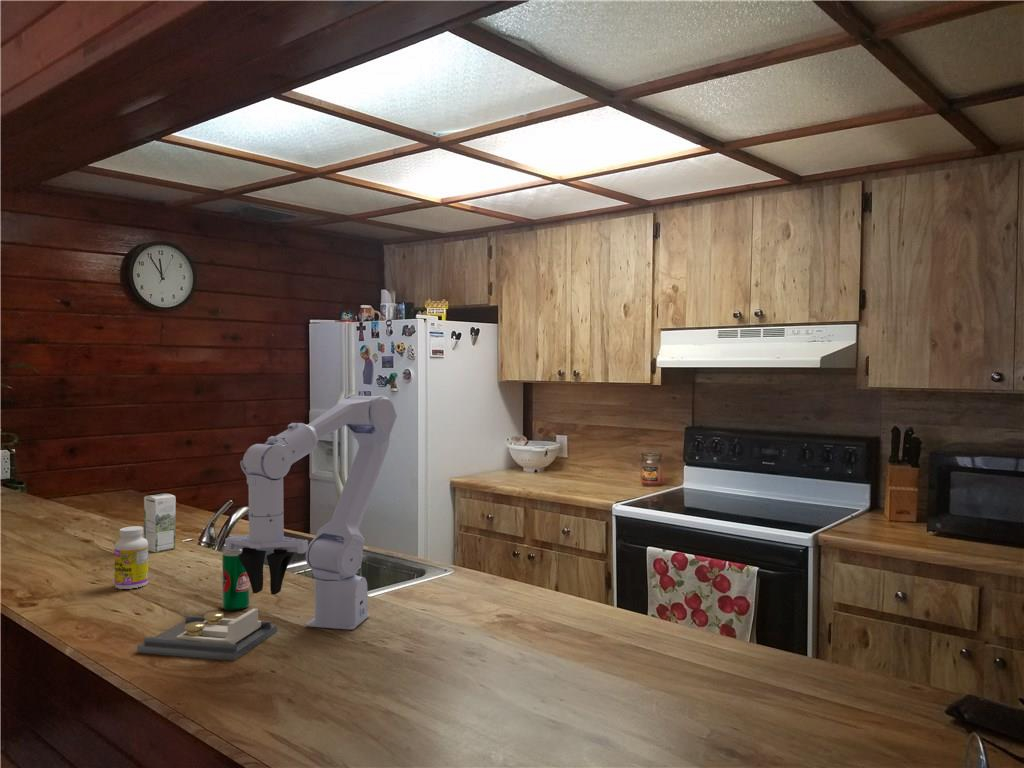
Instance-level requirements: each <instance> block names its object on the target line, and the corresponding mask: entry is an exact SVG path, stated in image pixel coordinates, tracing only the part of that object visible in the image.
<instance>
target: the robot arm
mask: <svg viewBox="0 0 1024 768" xmlns="http://www.w3.org/2000/svg"><path fill="white" fill-rule="evenodd" d="M396 420H397V412H396V408H395V406H394V404H393V401H392V400H391V399H390V397H388V396H385V395H379V396H377V395H356V394H349V395H347V396H345V398H342V399H339V400H337V404H335V405H334V406H333V407H331V408H330V409H328V410H327V411H325V412H324V413H322V414H321V415H319V416H318V417H317V418H315V419H314V420H312V421H311V422H309V423H308V424H305V423H304V422H291V423H289V424H288V425H287V429H286V430H284V431H282V432H280V433H279V434H277V435H274V436H273V435H271V436H269V437H268V438H267V441H265V442H264V443H255V444H253V445H251V446H249V448H247V449H246V451H245V453H244V455H243V458H242V460H240V463H239V464H240V468H241V470H242V472H243V473H244V474H245V476H246V484H247V486H248V535H246V536H245V535H242V536H241V535H240V536H239V535H238V536H237V535H236V536H235V535H231V536H229V537H227V538H225V539H224V541H225V543H224V544H225V545H224V549H226V550H232V549H242V553H241V554H239V555H238V557H239V560H240V561H241V563H242V565H243V566H244V568H245V570H246V572H247V575H248V577H249V585H250V587H251V590H252V594H258V593H260V592H262V591H263V590H264V589H263V588H264V564H265V559H266V560H267V564H268V568H269V575H270V576H269V577H270V578H269V579H270V581H269V582H270V583H269V584H270V585H269V588H270V594H271V595H272V596H273V595H274V596H275V595H277V594H279V593H281V591H282V586H283V581H284V578H285V574H286V572H287V568H288V567H289V564H290V562H291V560H292V557H294V553H297V554H305V562H306V563H307V566H308V567H309V568H310V569H311V574H312V575H313V576H314V617H313V618H312V619H310V620H309V621H307V622H306V623H305V626H306V627H310V628H322V629H323V628H324V629H337V630H348V631H349V630H355V629H356V628H357V627H358V626H359V625H360V624H362V622H364V621H365V620H366V619H367V618H369V617H370V614H369V613H368V610H369V609H368V582H367V579H366V577H364V576H359V575H357V572H358V571H359V570H360V567H361V565H362V562H363V549H364V547H365V544H366V540H365V538H364V537H363V535H362V533H361V532H360V530H359V529H360V526H361V523H362V521H363V518H364V514H365V512H366V509H367V507H368V504H369V500H370V499H371V495H372V493H373V490H374V487H375V485H376V483H377V479H378V477H379V475H380V471H381V468H382V466H383V462H384V460H385V457H386V455H387V452H388V450H389V449H388V448H389V446H390V437H391V432H392V431H393V428H394V425H395V423H396ZM345 426H346V428H347V430H348V431H349V432H350V434H351V435H352V437H353V438H354V439H355V440H356V441H357V443H358V448H357V452H356V454H355V457H354V459H353V462H352V465H351V467H350V469H349V470H350V471H349V472H348V475H347V476H346V477H347V478H346V481H345V483H344V486H343V488H342V491H341V494H340V495H339V499H338V501H337V503H336V507H335V509H334V512H333V515H332V517H331V520H329V521H328V522H327V523H325V524H323V525H322V526H321V527H320V528H319V529H318V530H317V533H316V535H315V536H314V538H313V539H312V540H311V541H310V542H309V540H308V539H303V538H295V537H289V536H284V535H285V534H284V533H285V529H284V526H285V523H284V518H285V517H284V511H285V510H284V477H286V476H287V474H288V473H289V471H290V469H291V466H292V465H293V464H294V463H296V462H297V461H299V460H301V459H302V458H304V457H306V456H307V455H309V454H310V453H312V452H313V451H315V450H316V449H317V447H318V442H319V440H321V439H323V438H324V437H326V436H328V435H330V434H332V433H334V432H336V431H337V430H339V429H342V428H343V427H345ZM267 551H268V552H271V553H269V554H267V555H266V553H267Z"/></svg>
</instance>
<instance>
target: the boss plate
mask: <svg viewBox="0 0 1024 768" xmlns="http://www.w3.org/2000/svg"><path fill="white" fill-rule="evenodd" d="M222 618H224V611H219V610H218V611H217V610H216V611H210V612H207V613H205V614H204V615H203V616H202V615H200V616H199V615H190V614H189V615H185V620H183V621H182V622H179V623H178V624H176V625H174V626H172V627H170V628H168V629H166V630H164V631H163V632H161V633H159V634H157V635H155V636H145V637H144V638H143V642H142V643H139V644H138V645H137V646H136V652H137V654H145V655H157V656H158V655H159V656H167V657H168V656H170V657H180V658H181V657H183V658H193V659H194V658H195V659H207V660H216V661H217V660H218V661H227V660H229V661H230V662H235V661H236V660H238V659H239V658H241V657H242V656H244V655H245V654H246V653H248V652H249V651H251V650H252V649H255V647H257V646H258V645H260V644H261V643H262V642H265V640H267V639H268V638H270V637H272V636H273V635H274V634H276V633H277V632H278V625H277V624H272V621H271V620H260V621H261V627H259V628H258V629H256V630H255V631H253V632H252V633H250V634H249V635H247V636H245V637H244V638H242V639H241V640H239V641H238V642H236V643H235V644H233V643H220V642H208V641H195V640H183V639H176V636H178V635H180V634H182V633H184V632H185V631H186V632H188V633H189V636H200V637H209V636H201V630H203V629H204V628H205V623H204V621H205V620H206V621H208V625H220V619H222ZM227 618H228V617H227ZM228 619H231V618H228ZM221 626H226V625H221ZM213 638H222V637H213ZM240 656H241V657H240ZM237 658H238V659H237ZM234 660H235V661H234Z"/></svg>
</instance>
